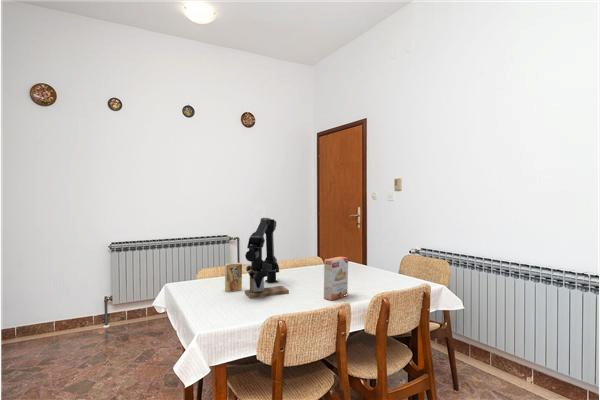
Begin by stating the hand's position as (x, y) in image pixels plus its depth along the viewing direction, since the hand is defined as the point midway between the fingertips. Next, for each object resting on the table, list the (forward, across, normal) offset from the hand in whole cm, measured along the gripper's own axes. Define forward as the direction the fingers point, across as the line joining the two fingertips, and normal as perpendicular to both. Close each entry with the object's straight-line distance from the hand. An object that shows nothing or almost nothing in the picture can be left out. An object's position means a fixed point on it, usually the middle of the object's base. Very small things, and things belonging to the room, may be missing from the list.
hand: (256, 286), depth 194 cm
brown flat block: (+4, 0, -6) cm, 8 cm away
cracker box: (+5, -22, -37) cm, 43 cm away
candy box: (+5, +14, +9) cm, 17 cm away
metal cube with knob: (+2, 0, 0) cm, 2 cm away
